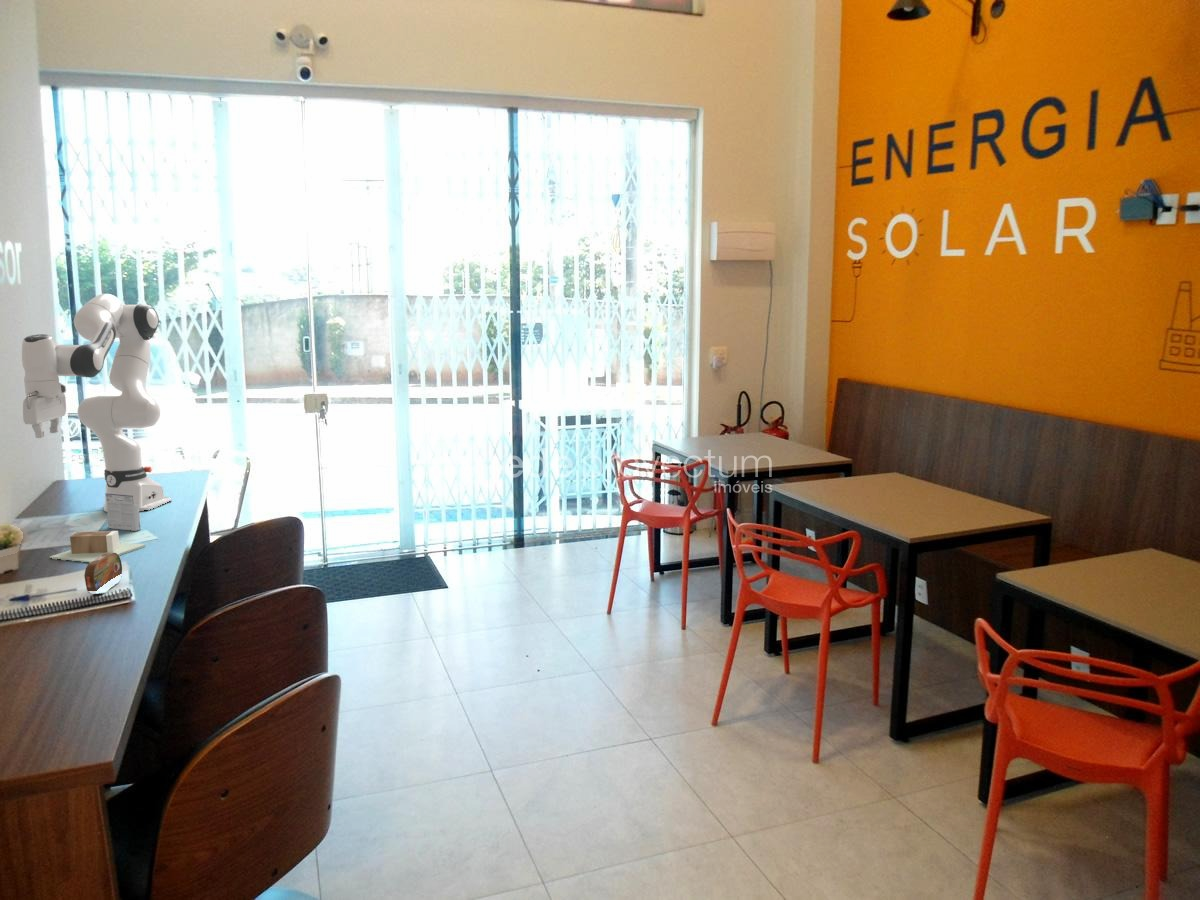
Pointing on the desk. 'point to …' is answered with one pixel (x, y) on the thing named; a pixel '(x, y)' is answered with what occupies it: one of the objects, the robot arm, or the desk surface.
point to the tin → (102, 571)
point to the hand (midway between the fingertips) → (47, 435)
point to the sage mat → (91, 557)
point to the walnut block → (94, 542)
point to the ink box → (122, 512)
